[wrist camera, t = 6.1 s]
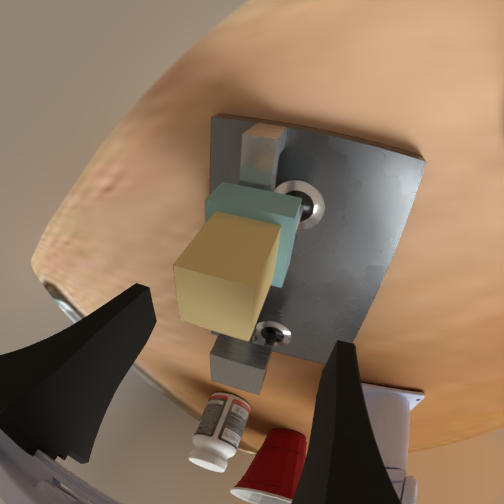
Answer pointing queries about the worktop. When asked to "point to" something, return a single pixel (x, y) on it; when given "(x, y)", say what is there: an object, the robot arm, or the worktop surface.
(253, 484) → the plastic cup
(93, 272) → the worktop surface
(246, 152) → the rail
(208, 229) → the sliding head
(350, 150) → the hole plate
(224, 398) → the pill bottle
